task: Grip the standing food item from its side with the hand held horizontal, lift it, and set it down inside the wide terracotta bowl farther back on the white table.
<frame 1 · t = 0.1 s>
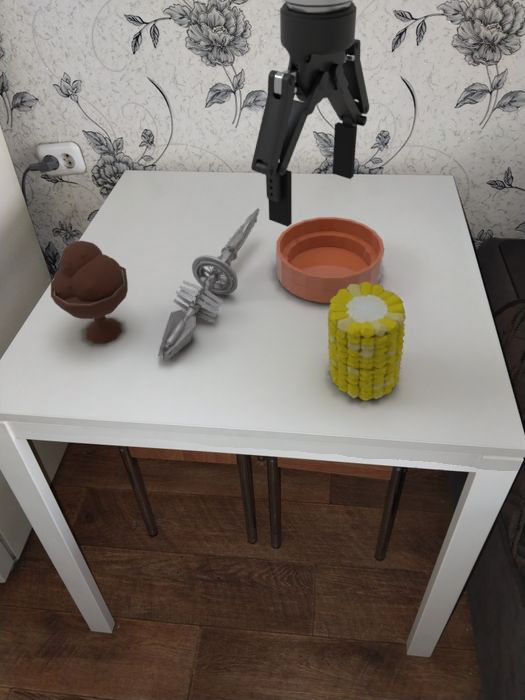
hand: (313, 197, 72), 23 cm above the table, tool pointing down, fingers open, 13 cm apart
terracotta bowl: (328, 273, 99), on the table
food: (360, 381, 81), on the table
spaceship: (217, 295, 96), on the table
ice cream bowl: (104, 332, 90), on the table
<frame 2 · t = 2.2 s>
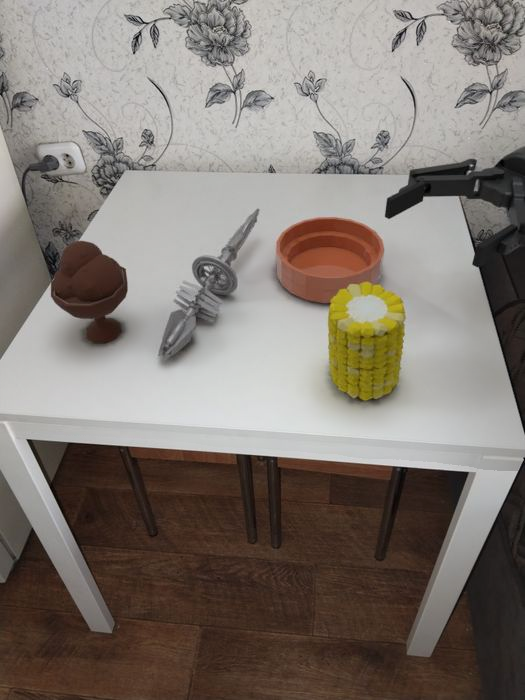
hand: (429, 231, 71), 20 cm above the table, tool horizontal, fingers open, 13 cm apart
nothing on the table moved.
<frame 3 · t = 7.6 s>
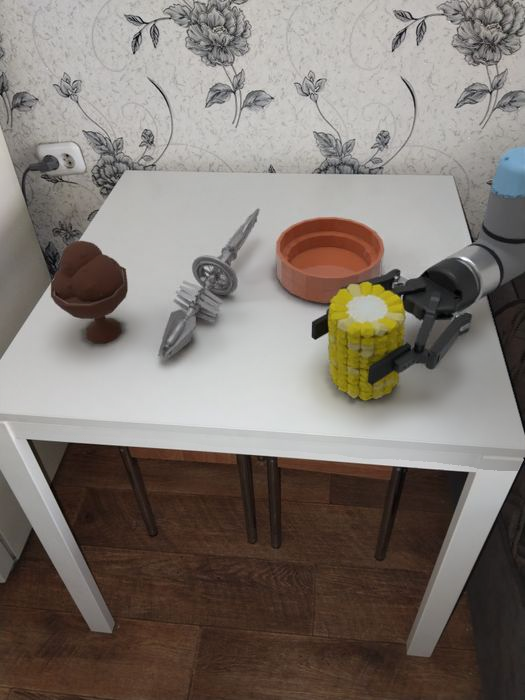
hand: (340, 352, 74), 8 cm above the table, tool horizontal, fingers closed on food, 10 cm apart
food: (360, 381, 81), on the table, touching gripper
everything else where it was.
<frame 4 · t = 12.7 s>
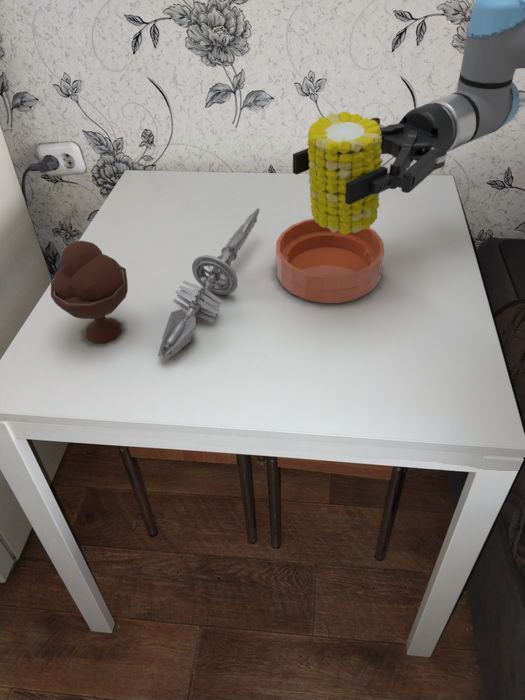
hand: (320, 178, 77), 22 cm above the table, tool horizontal, fingers closed on food, 10 cm apart
food: (341, 221, 84), point 14 cm above the table, touching gripper
everything else where it was.
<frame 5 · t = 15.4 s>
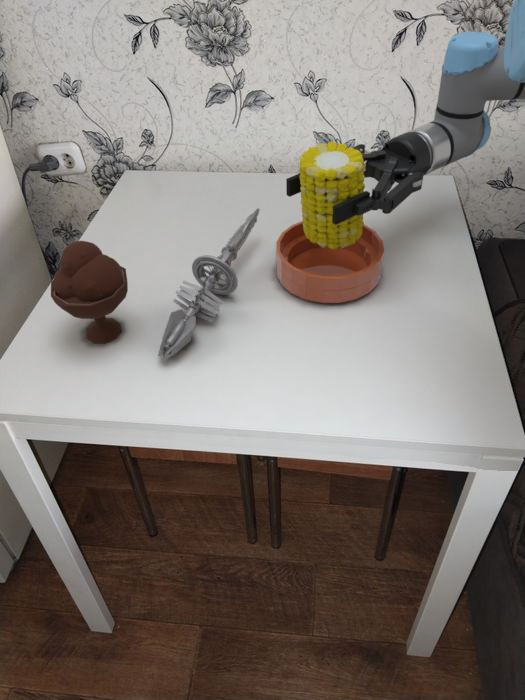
hand: (310, 201, 87), 15 cm above the table, tool horizontal, fingers closed on food, 10 cm apart
food: (330, 237, 94), point 7 cm above the table, touching gripper
everything else where it was.
when the fingers open (9 cm above the table, at t = 17.8 s): food stays where it is, resting on terracotta bowl.
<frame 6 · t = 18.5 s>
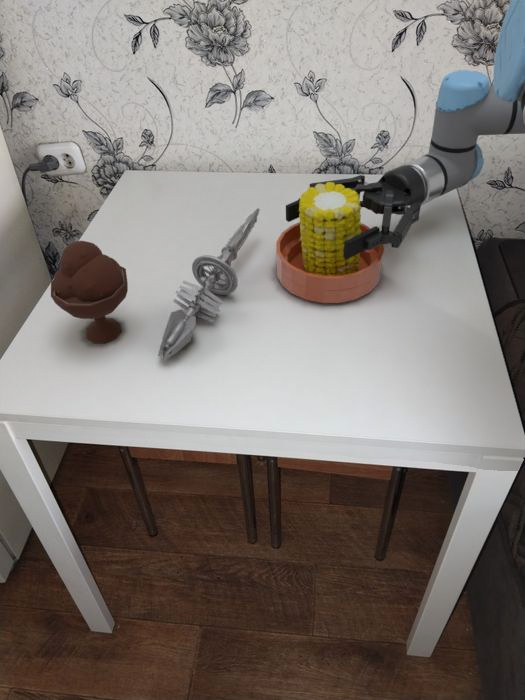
hand: (314, 231, 91), 10 cm above the table, tool horizontal, fingers open, 13 cm apart
food: (328, 270, 99), resting on terracotta bowl
everything else where it was.
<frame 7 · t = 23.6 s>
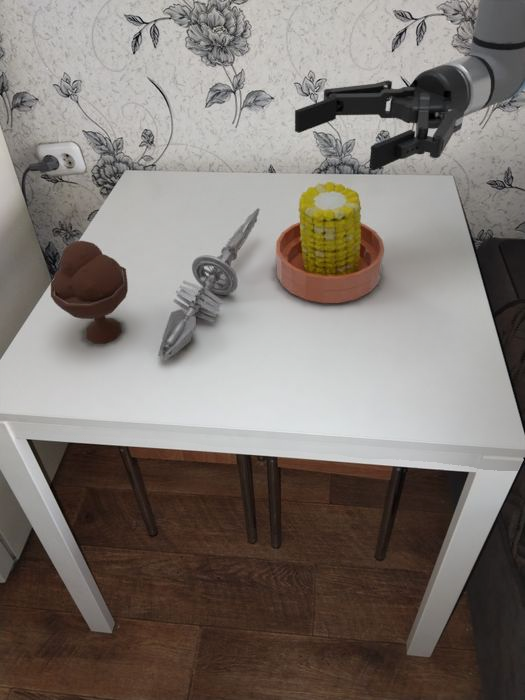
hand: (332, 139, 72), 28 cm above the table, tool horizontal, fingers open, 13 cm apart
nothing on the table moved.
at the end: food inside the target area in the terracotta bowl (0.1 cm from its centre), point 0.4 cm above the terracotta bowl's base; food tilted 0°; the gripper is holding nothing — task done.
